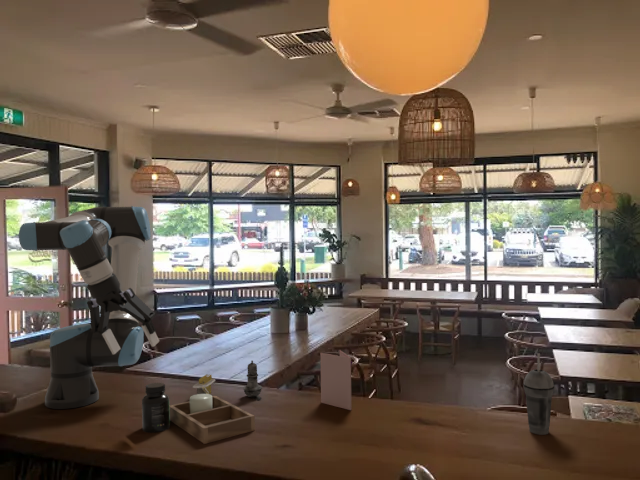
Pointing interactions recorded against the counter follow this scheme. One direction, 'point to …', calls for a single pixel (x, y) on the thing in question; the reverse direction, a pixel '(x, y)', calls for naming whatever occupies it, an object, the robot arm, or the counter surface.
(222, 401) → the caddy
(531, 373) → the beverage cup
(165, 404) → the supplement bottle
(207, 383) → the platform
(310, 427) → the counter surface
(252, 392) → the salt shaker
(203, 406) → the pale green dome
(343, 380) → the greeting card
